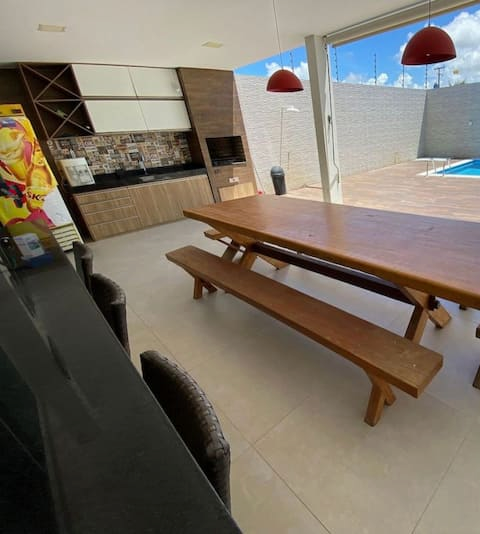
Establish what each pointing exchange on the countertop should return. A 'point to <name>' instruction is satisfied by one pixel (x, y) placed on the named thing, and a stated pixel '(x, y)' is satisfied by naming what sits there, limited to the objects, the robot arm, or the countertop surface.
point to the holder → (38, 260)
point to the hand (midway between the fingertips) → (8, 210)
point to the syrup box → (29, 245)
